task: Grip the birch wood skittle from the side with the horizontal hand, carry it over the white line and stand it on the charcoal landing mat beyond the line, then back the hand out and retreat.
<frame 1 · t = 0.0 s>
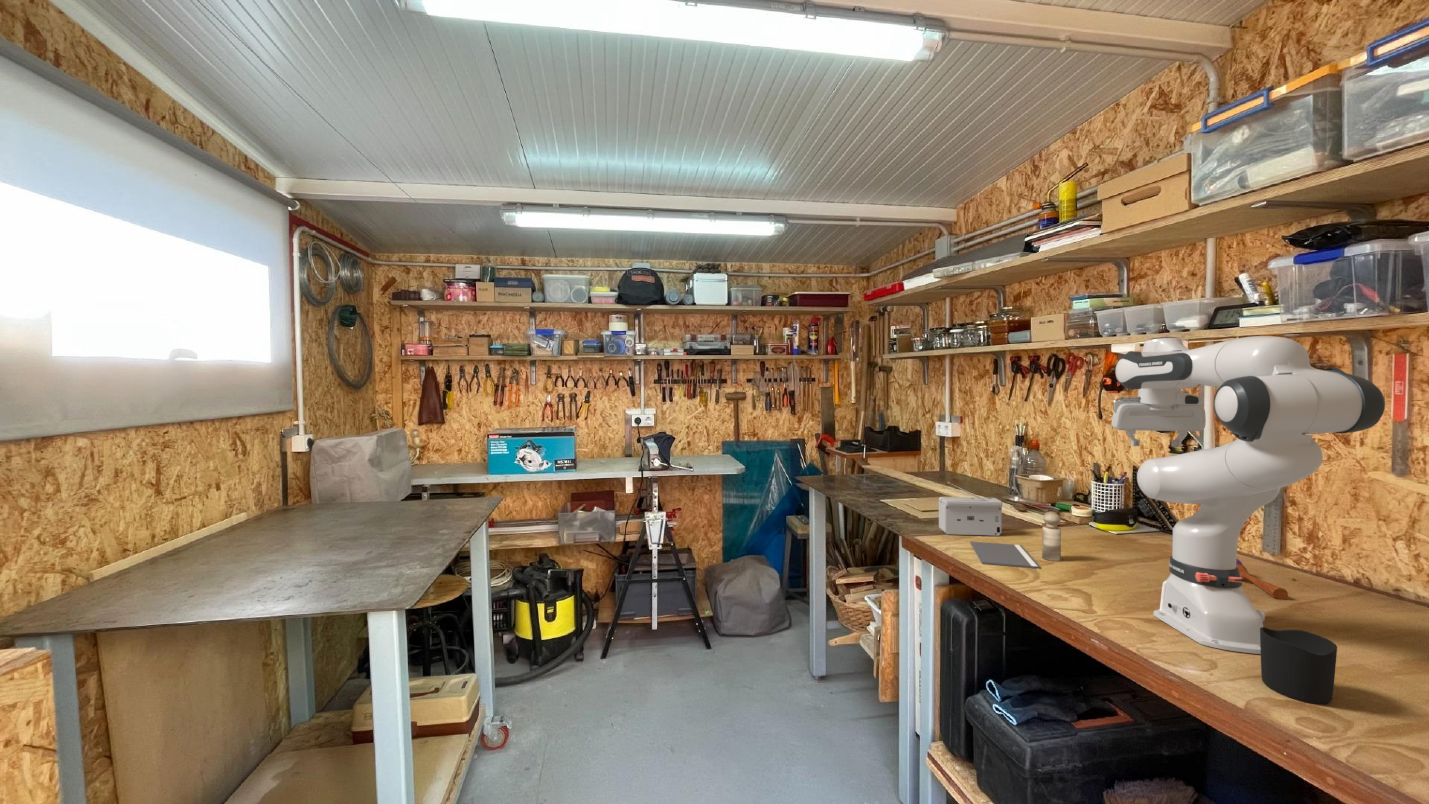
hand: (1155, 446, 144), 39 cm above the table, tool pointing down, fingers open, 8 cm apart
kendama: (1248, 586, 145), on the table
landing mat: (1002, 555, 172), on the table
pen holder: (1295, 691, 96), on the table
skittle: (1051, 558, 168), on the table
stereo radio cassette player: (970, 534, 196), on the table
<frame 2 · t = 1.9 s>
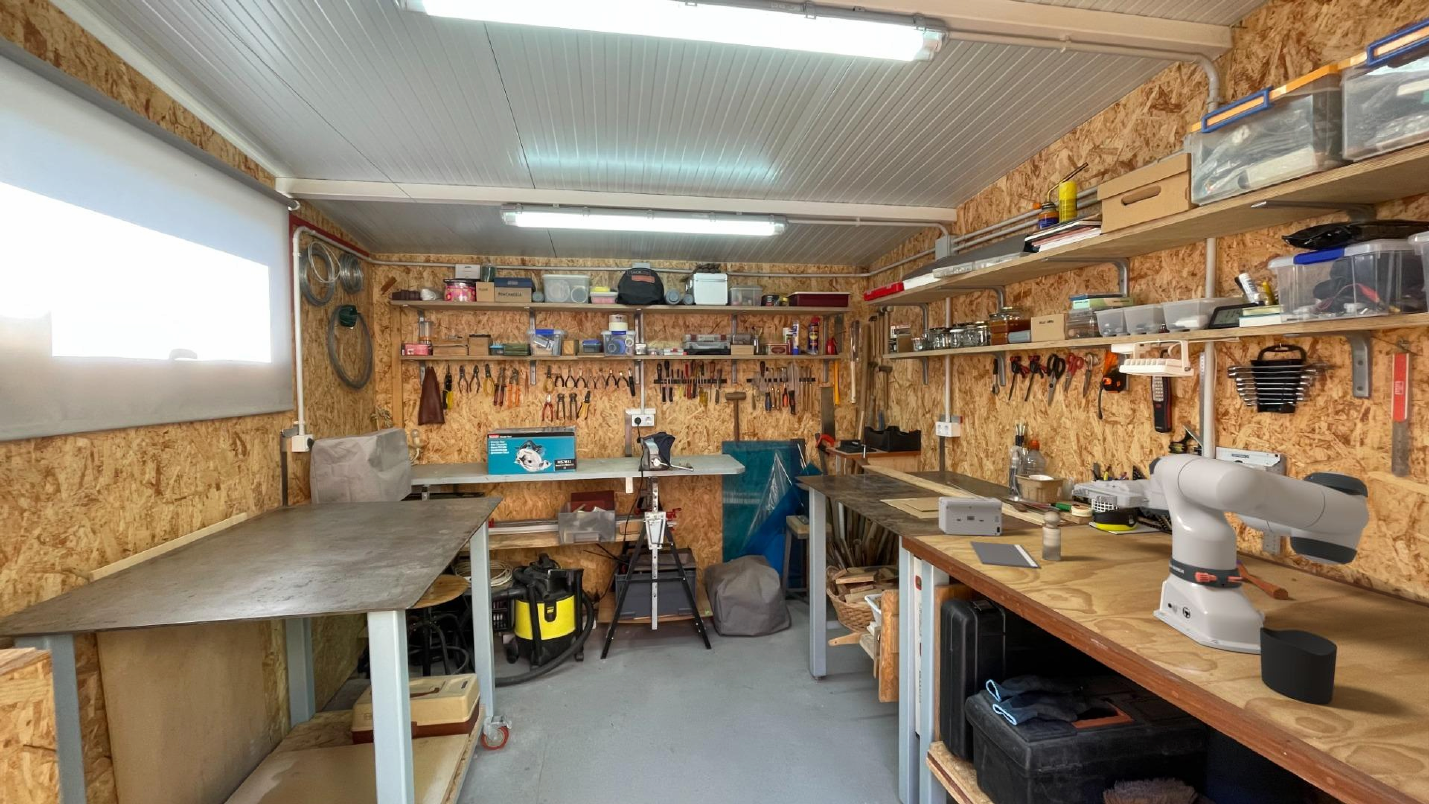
hand: (1085, 496, 169), 20 cm above the table, tool horizontal, fingers open, 8 cm apart
nothing on the table moved.
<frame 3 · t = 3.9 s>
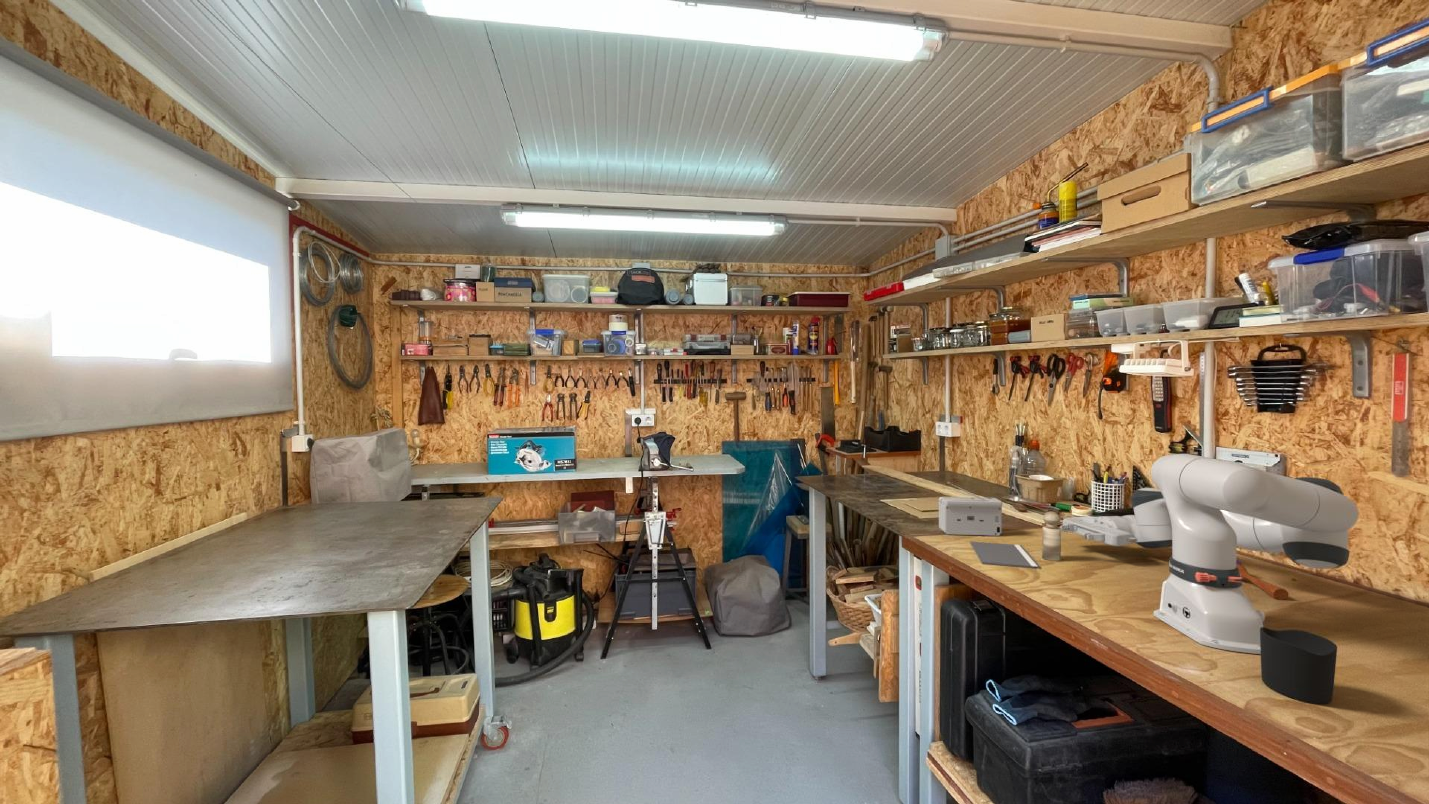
hand: (1073, 532, 169), 8 cm above the table, tool horizontal, fingers open, 8 cm apart
nothing on the table moved.
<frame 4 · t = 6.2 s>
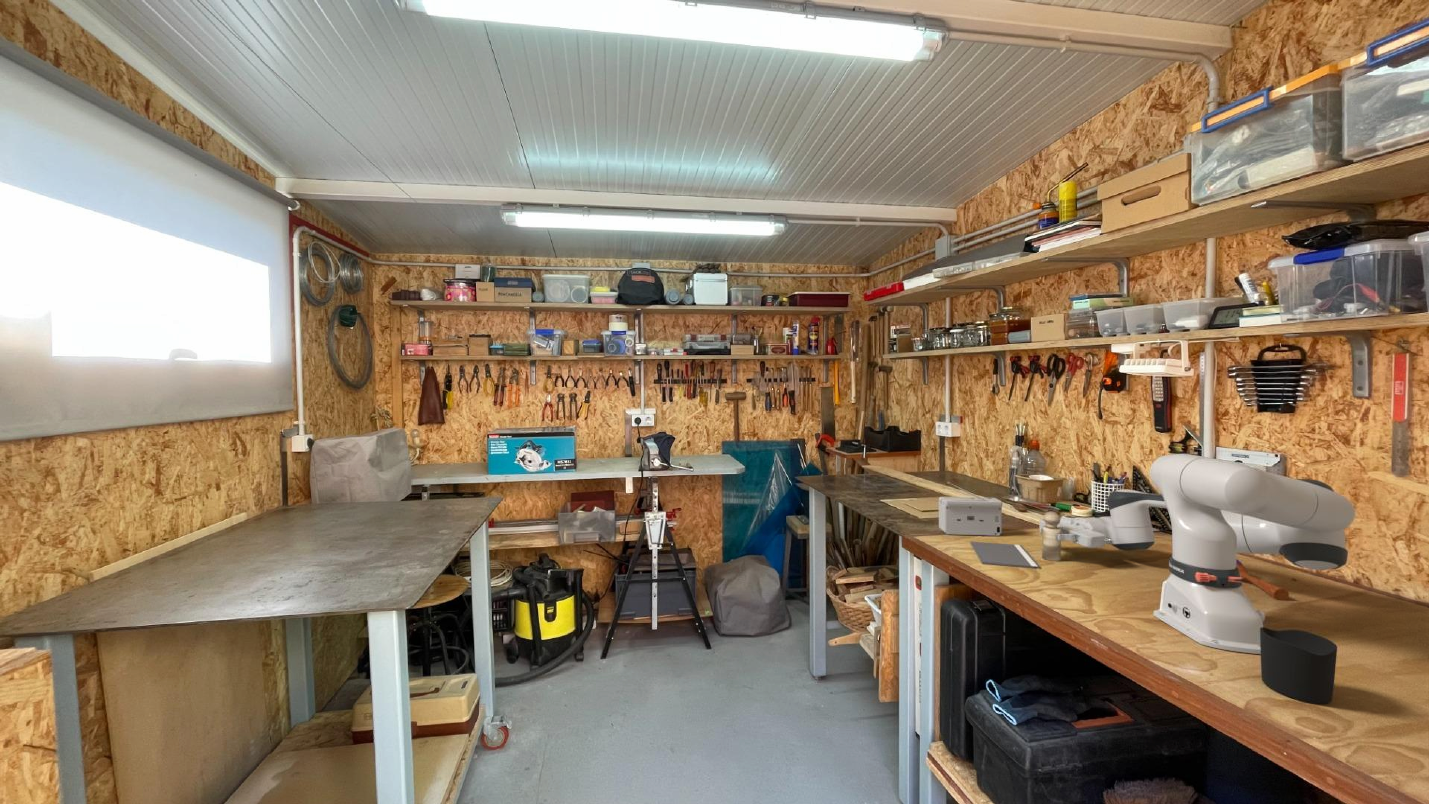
hand: (1049, 534, 167), 8 cm above the table, tool horizontal, fingers closed on skittle, 5 cm apart
skittle: (1051, 558, 168), on the table, touching gripper
everything else where it was.
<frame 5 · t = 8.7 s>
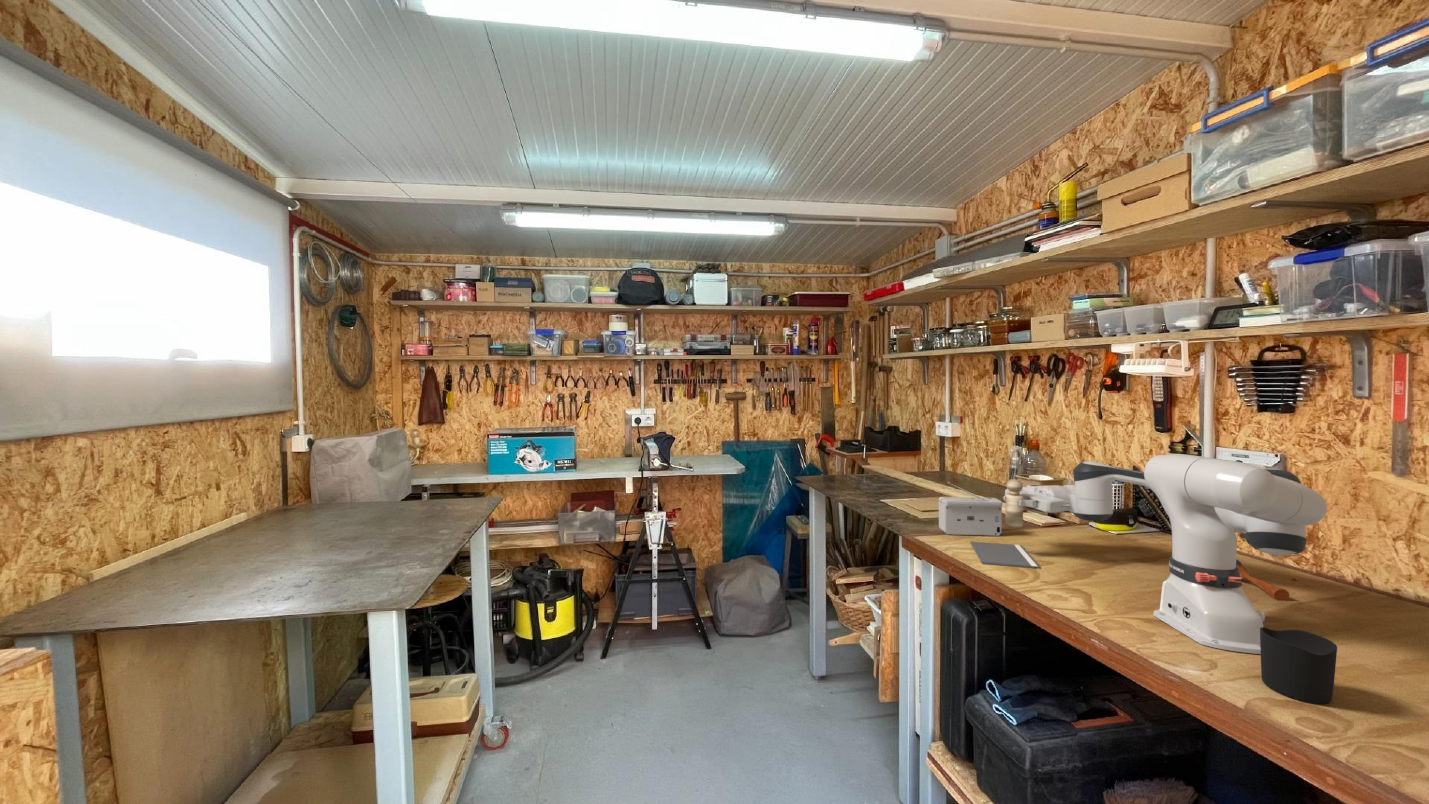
hand: (1011, 500, 171), 18 cm above the table, tool horizontal, fingers closed on skittle, 5 cm apart
skittle: (1014, 525, 172), point 10 cm above the table, touching gripper
everything else where it was.
when the fingers open (10 cm above the table, at t = 11.1 s): skittle drops 1 cm, resting on landing mat.
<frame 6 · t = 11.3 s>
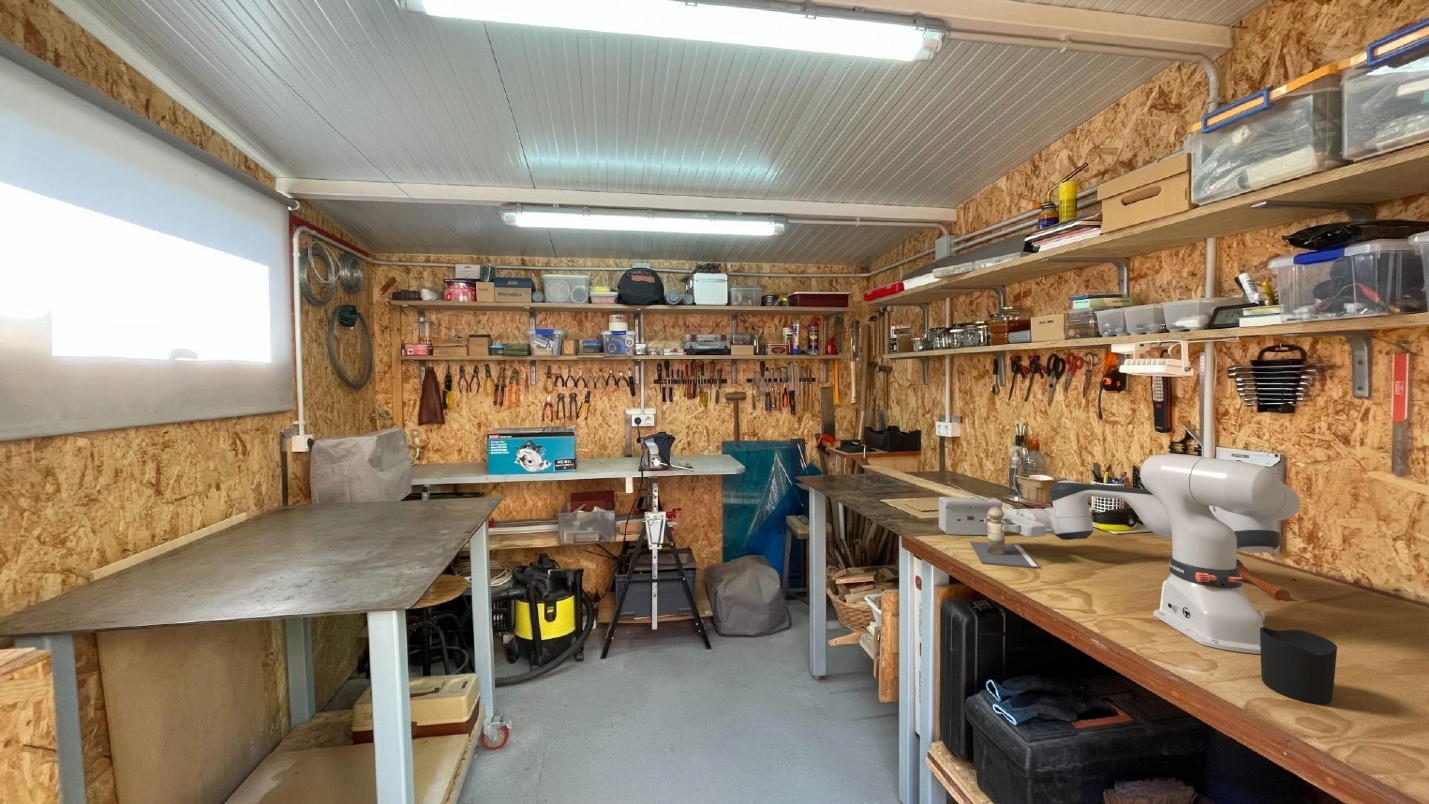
hand: (993, 524, 172), 10 cm above the table, tool horizontal, fingers open, 7 cm apart
skittle: (996, 552, 172), point 1 cm above the table, touching landing mat
everything else where it was.
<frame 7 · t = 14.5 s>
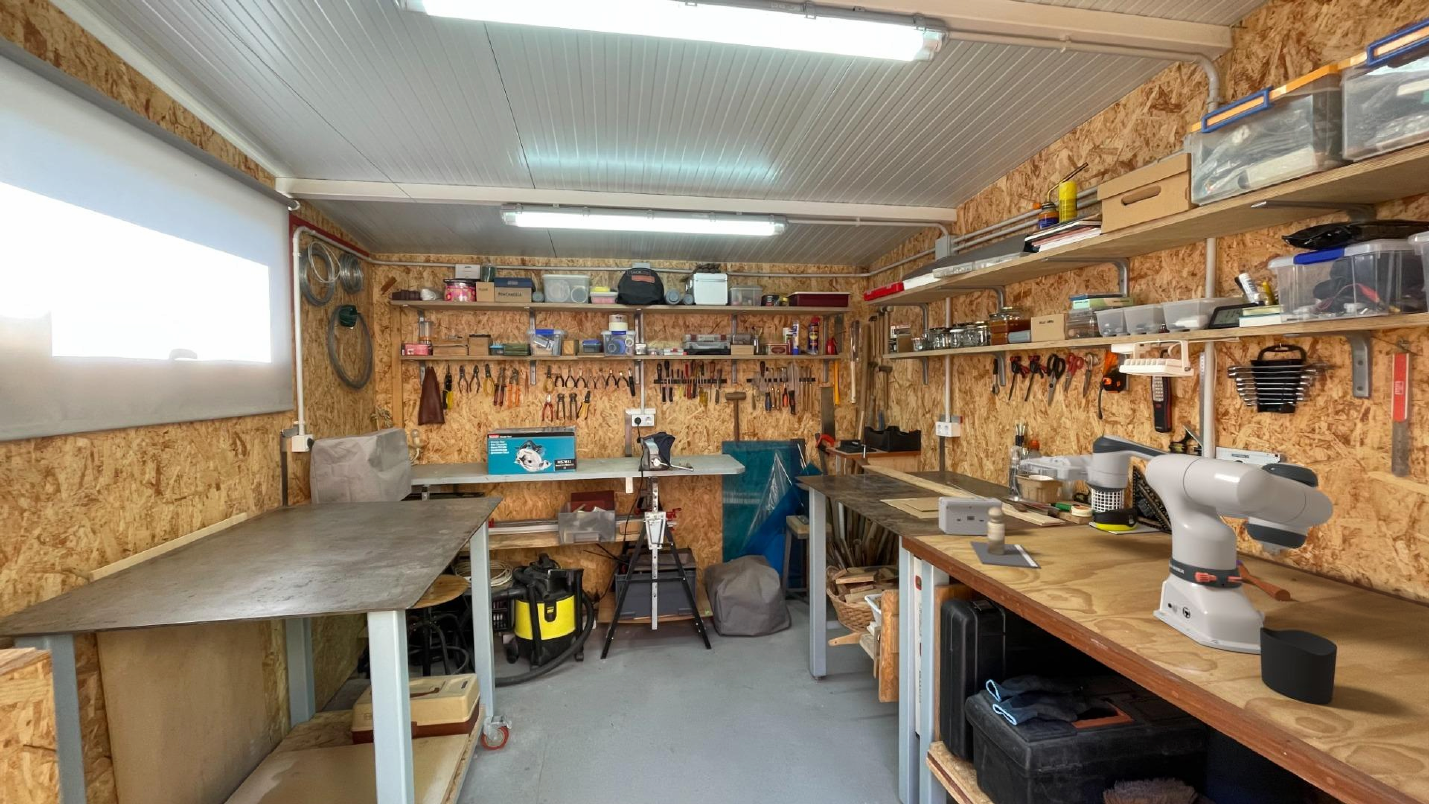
hand: (1028, 470, 173), 28 cm above the table, tool horizontal, fingers open, 8 cm apart
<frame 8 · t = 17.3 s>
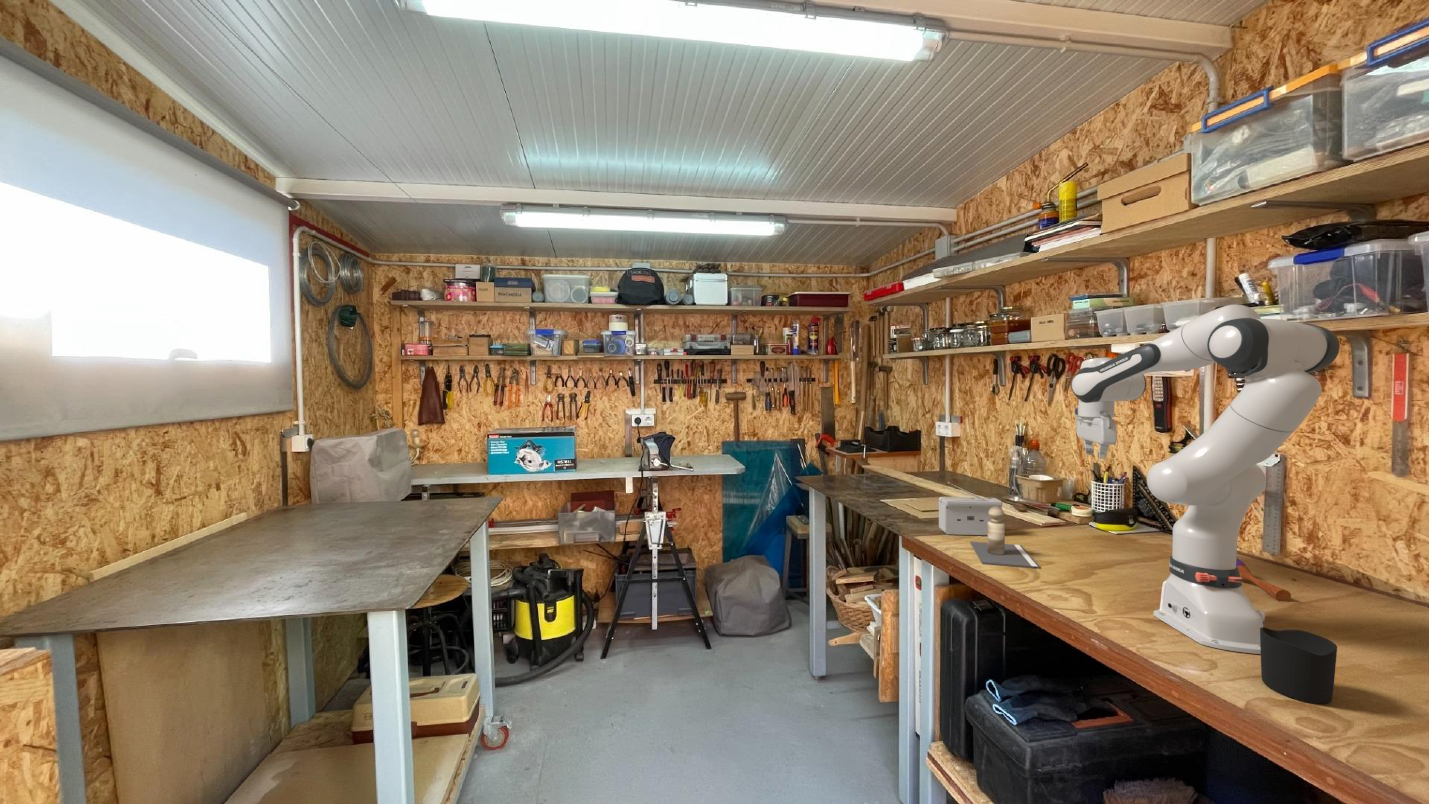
hand: (1095, 456, 159), 34 cm above the table, tool pointing down, fingers open, 8 cm apart
at the end: skittle inside the target area (2.0 cm from its centre), point 0.6 cm above the table; skittle tilted 1°; the gripper is holding nothing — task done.
